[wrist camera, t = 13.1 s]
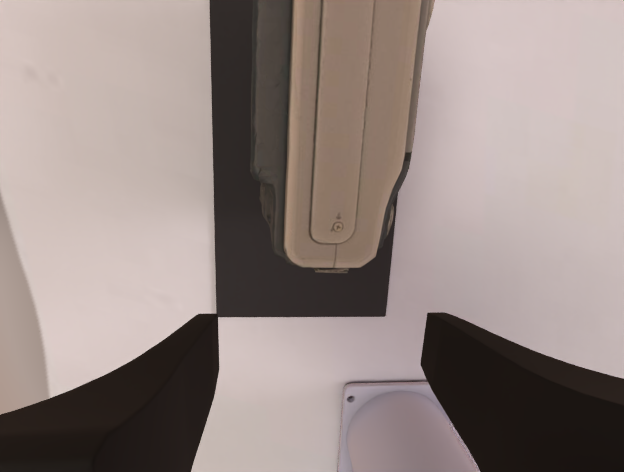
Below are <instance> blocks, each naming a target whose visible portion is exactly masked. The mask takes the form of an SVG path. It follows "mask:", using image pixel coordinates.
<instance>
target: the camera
mask: <svg viewBox="0 0 624 472" xmlns="http://www.w3.org/2000/svg"><path fill="white" fill-rule="evenodd" d="M434 2H435V0H253V18H252V88H251V170H250V171H251V174H252V176H253V179H255V180H257V181H260V183H261V186H260V196H259V199H260V202H261V204H262V214H263V217H264V218H265V220H266V221H267V222H268V224H269V227H270V232H271V240H272V249H273V251H274V254H275V255H276V256H278V257H280V258H285V261H286V264H289V265H297V266H299V267H307V268H314V270H315V272H326V273H348V270H349V268H360V267H362V266H363V265H365V264H366V263H368V262H369V261H371V260H372V259H373V258H375V257H376V253H377V250H378V249H380V248H382V247H383V243H384V239H385V238H386V237H387V235H388V233H389V230H390V227H391V224H392V221H393V214H394V207H393V205H392V204H393V202H394V200H395V198H396V196H397V194H398V191H399V189H400V187H401V185H402V183H403V181H404V180H405V177H406V174H407V172H408V169H409V165H410V159H411V153H412V146H413V140H414V132H415V123H416V113H417V104H418V95H419V87H420V78H421V69H422V61H423V52H424V44H425V35H426V30H427V27H428V25H429V21H430V18H431V15H432V11H433V6H434ZM320 268H339V269H320Z"/></svg>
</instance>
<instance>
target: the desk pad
mask: <svg viewBox="0 0 624 472" xmlns="http://www.w3.org/2000/svg"><path fill="white" fill-rule="evenodd" d="M252 18H253V0H210V35H211V80H212V125H213V170H214V215H215V260H216V306H217V314H218V317H385V315H386V305H387V295H388V285H389V275H390V265H391V255H392V246H393V236H394V226H395V216H396V206H397V196H398V194H397V196H396V198H395V200H394V202H393V204H392V205H393V207H394V214H393V221H392V224H391V227H390V230H389V233H388V235H387V237H386V238H385V239H384V243H383V247H382V248H380V249H378V250H377V253H376V257H375V258H373V259H372V260H371V261H369V262H368V263H366V264H365V265H363V266H362V267H360V268H349V270H348V273H326V272H315V270H314V268H307V267H299V266H297V265H289V264H286V261H285V258H280V257H278V256H276V255H275V254H274V251H273V249H272V240H271V232H270V227H269V224H268V222H267V221H266V220H265V218H264V217H263V214H262V204H261V202H260V199H259V196H260V186H261V183H260V181H257V180H255V179H253V176H252V174H251V171H250V170H251V88H252ZM320 269H339V268H320Z"/></svg>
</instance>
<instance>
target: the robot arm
mask: <svg viewBox="0 0 624 472" xmlns="http://www.w3.org/2000/svg"><path fill="white" fill-rule="evenodd" d="M421 367H422V369H423V371H424V374H425V376H426V379H427V381H428V382H389V383H350V384H347V385H346V386H345V387H344V389H343V401H342V415H341V428H340V442H339V455H338V469H337V472H478V470H477V469H476V467H475V465H474V464H473V462H472V461H471V459H470V457H469V456H468V454H467V452H466V451H465V449H464V448H463V446H462V444H461V443H460V441H459V440H458V438H457V436H456V435H455V433H454V432H453V430H452V428H451V427H450V421H451V422H452V424H453V425H454V427H455V429H456V430H457V432H458V433H459V435H460V437H461V438H462V440H463V441H464V443H465V445H466V446H467V448H468V449H469V451H470V453H471V455H472V456H473V458H474V460H475V462H476V463H477V465H478V467H479V469H480V471H481V472H624V379H622V378H618V377H614V376H610V375H607V374H603V373H599V372H596V371H592V370H589V369H585V368H582V367H579V366H575V365H572V364H569V363H566V362H563V361H560V360H557V359H555V358H552V357H549V356H546V355H543V354H541V353H538V352H535V351H533V350H530V349H528V348H526V347H523V346H521V345H518V344H516V343H514V342H511V341H509V340H507V339H504V338H502V337H500V336H498V335H496V334H493V333H491V332H489V331H487V330H485V329H483V328H480V327H478V326H476V325H474V324H472V323H470V322H467V321H465V320H463V319H460V318H458V317H456V316H453V315H450V314H447V313H427V321H426V328H425V335H424V343H423V350H422V357H421ZM218 372H219V343H218V314H198V315H196V316H195V317H194V318H192V319H191V320H190V321H188V322H187V323H186V324H184V325H183V326H182V327H180V328H179V329H178V330H176V331H175V332H174V333H172V334H171V335H170V336H168V337H167V338H166V339H164V340H163V341H161V342H160V343H158V344H157V345H155V346H154V347H152V348H151V349H149V350H148V351H146V352H145V353H143V354H142V355H140V356H139V357H137V358H136V359H134V360H132V361H130V362H129V363H127V364H125V365H123V366H121V367H120V368H118V369H116V370H114V371H112V372H110V373H108V374H106V375H104V376H102V377H100V378H97V379H95V380H93V381H91V382H89V383H86V384H84V385H82V386H80V387H77V388H75V389H73V390H70V391H68V392H66V393H63V394H60V395H58V396H55V397H52V398H50V399H47V400H44V401H41V402H39V403H36V404H33V405H30V406H27V407H24V408H21V409H18V410H15V411H12V412H8V413H4V414H1V415H0V472H191V469H192V465H193V462H194V459H195V456H196V452H197V449H198V446H199V443H200V440H201V437H202V434H203V430H204V427H205V424H206V421H207V418H208V415H209V411H210V408H211V405H212V402H213V398H214V394H215V389H216V384H217V378H218ZM349 396H353V397H352V398H350V399H349V398H348V397H349Z"/></svg>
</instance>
